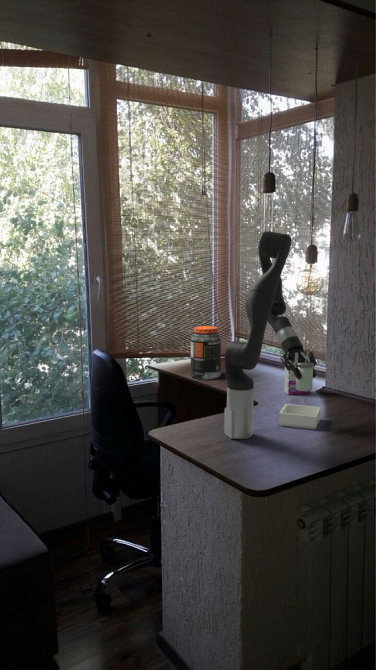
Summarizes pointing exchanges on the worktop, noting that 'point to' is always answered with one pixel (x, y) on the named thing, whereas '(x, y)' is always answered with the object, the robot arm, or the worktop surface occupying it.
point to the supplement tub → (205, 353)
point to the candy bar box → (291, 383)
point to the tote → (299, 416)
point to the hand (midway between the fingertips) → (307, 377)
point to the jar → (305, 376)
